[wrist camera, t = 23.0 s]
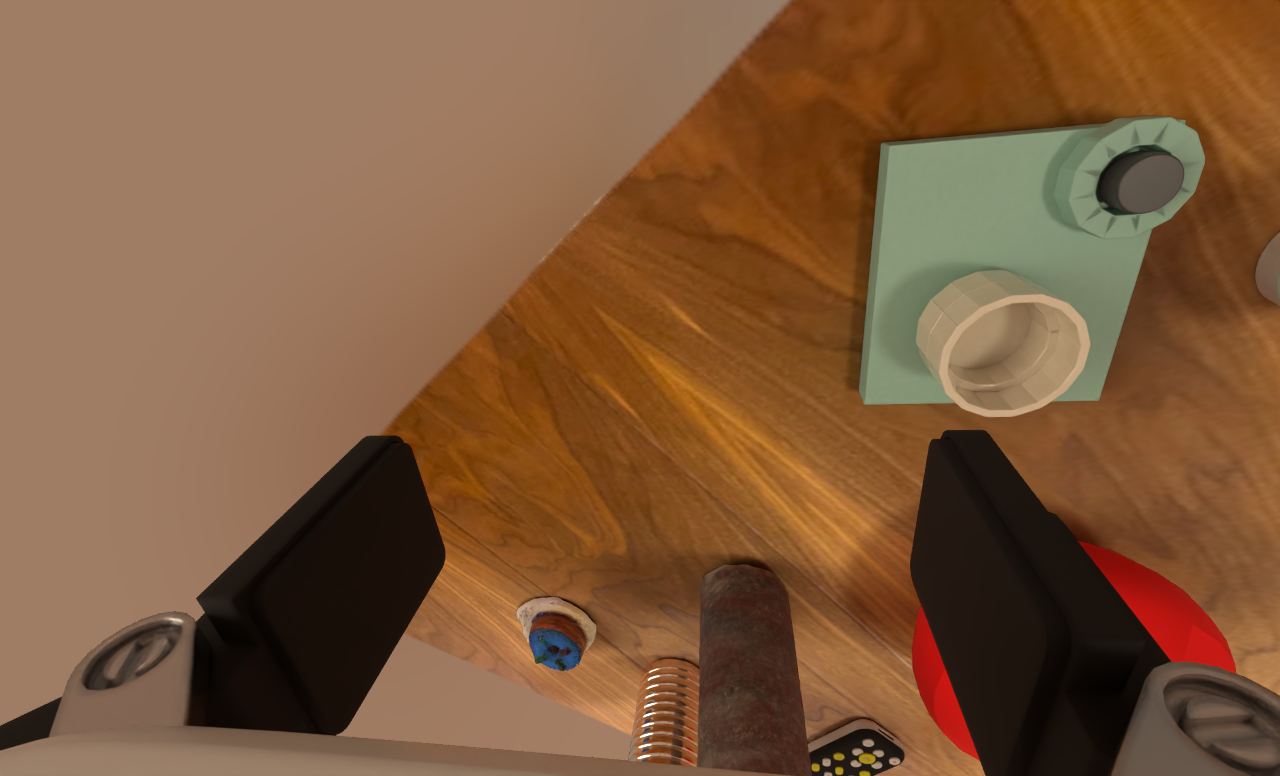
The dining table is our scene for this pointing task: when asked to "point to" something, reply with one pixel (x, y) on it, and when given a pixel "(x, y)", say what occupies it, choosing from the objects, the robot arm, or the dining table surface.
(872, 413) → the dining table surface
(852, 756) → the remote control
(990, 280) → the bowl
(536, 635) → the dessert
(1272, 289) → the coffee cup
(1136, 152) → the button
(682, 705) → the water bottle
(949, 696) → the vase
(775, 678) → the candle
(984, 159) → the scale
